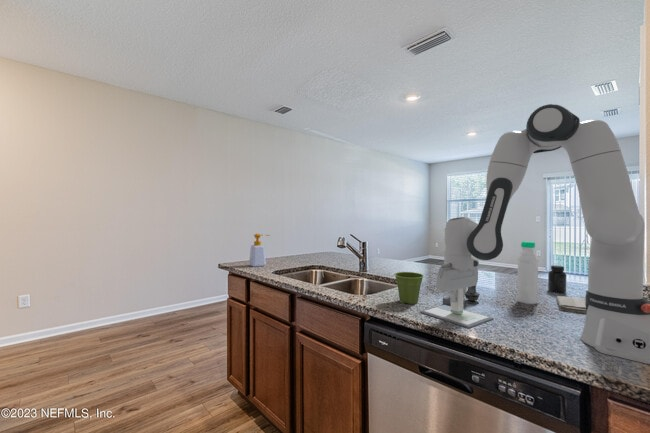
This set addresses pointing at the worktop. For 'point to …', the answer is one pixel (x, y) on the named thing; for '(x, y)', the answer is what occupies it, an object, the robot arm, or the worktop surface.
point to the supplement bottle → (557, 279)
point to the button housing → (447, 301)
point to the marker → (458, 303)
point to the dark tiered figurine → (472, 295)
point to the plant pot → (409, 286)
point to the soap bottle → (257, 253)
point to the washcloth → (572, 304)
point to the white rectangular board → (457, 316)
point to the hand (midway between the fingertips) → (457, 301)
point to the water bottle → (527, 274)
